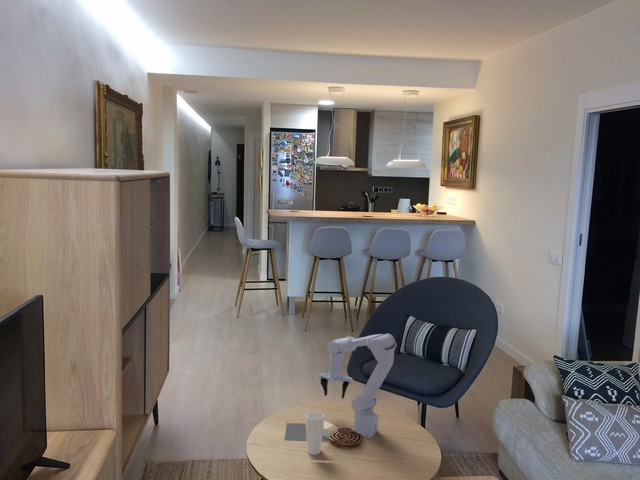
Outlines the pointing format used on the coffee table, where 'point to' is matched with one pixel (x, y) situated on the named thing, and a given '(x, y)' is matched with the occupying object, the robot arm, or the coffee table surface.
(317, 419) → the white cylinder
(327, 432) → the card box
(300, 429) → the mat
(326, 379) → the robot arm
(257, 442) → the coffee table surface
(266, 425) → the coffee table surface
